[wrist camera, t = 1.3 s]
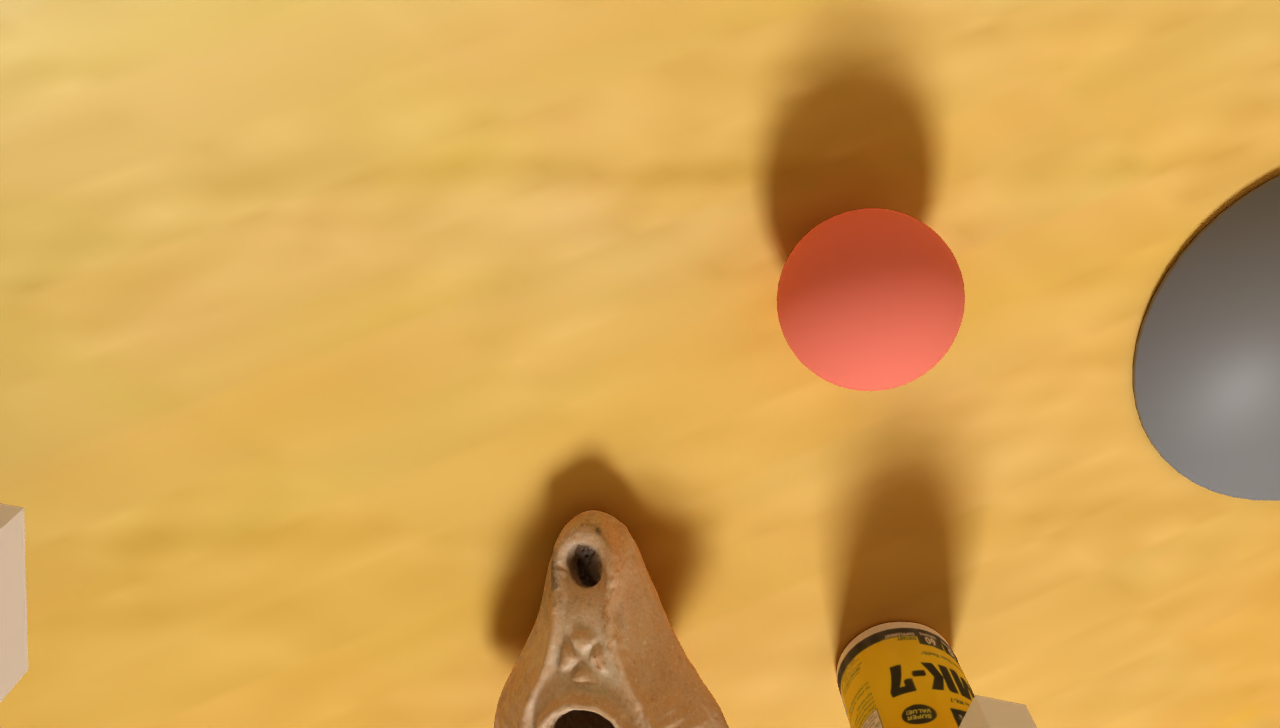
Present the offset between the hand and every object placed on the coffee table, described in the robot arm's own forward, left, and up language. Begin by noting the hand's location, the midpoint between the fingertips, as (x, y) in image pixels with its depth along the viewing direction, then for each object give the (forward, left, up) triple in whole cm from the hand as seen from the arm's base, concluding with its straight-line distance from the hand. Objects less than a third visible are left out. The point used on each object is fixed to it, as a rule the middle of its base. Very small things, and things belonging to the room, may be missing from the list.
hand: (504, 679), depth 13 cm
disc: (+24, +10, -19) cm, 32 cm away
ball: (+8, +4, -16) cm, 19 cm away
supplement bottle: (+19, -9, -19) cm, 29 cm away
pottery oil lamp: (+8, -12, -19) cm, 24 cm away
